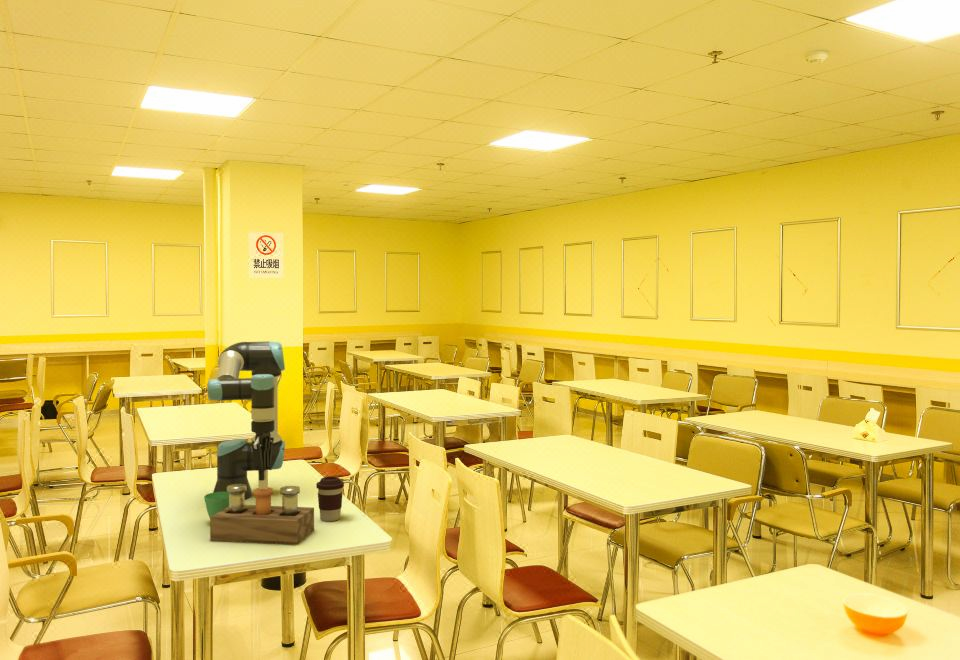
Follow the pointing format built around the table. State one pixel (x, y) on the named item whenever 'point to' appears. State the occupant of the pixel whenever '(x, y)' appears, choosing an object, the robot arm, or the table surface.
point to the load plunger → (263, 501)
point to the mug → (216, 502)
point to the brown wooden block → (262, 526)
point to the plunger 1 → (236, 498)
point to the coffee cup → (330, 498)
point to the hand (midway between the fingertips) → (263, 489)
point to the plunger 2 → (289, 500)
